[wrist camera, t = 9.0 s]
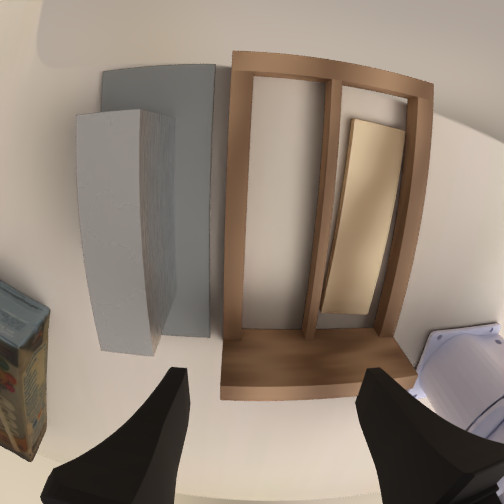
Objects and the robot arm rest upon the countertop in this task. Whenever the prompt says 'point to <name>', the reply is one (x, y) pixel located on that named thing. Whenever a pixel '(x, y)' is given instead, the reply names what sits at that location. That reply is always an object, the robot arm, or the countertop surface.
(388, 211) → the offcut top
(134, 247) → the shiny grey metal block
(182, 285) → the mat
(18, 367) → the beverage carton
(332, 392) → the rack
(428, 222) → the countertop surface
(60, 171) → the countertop surface
